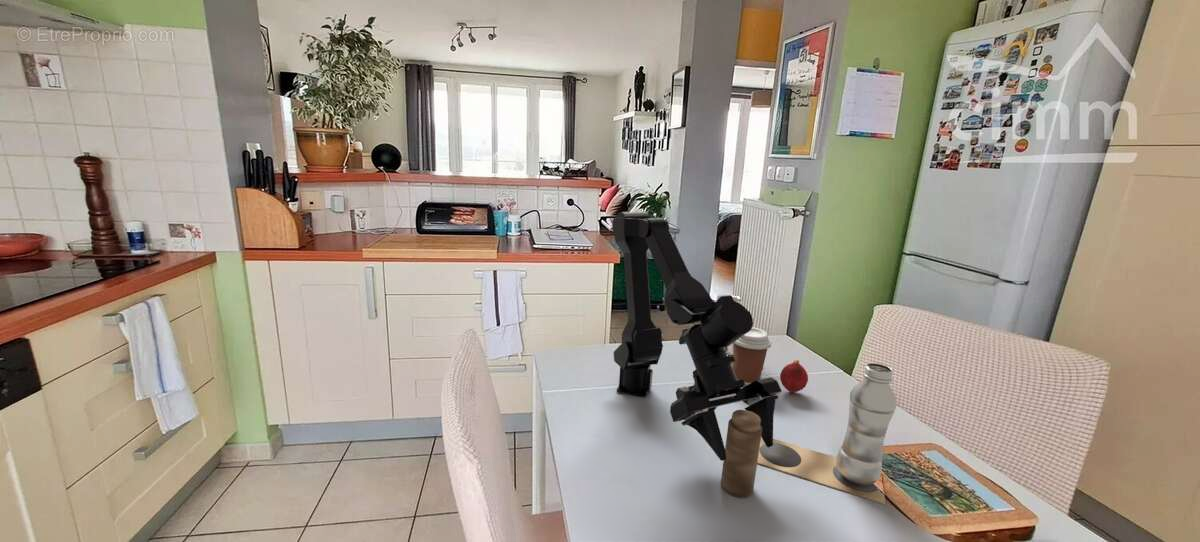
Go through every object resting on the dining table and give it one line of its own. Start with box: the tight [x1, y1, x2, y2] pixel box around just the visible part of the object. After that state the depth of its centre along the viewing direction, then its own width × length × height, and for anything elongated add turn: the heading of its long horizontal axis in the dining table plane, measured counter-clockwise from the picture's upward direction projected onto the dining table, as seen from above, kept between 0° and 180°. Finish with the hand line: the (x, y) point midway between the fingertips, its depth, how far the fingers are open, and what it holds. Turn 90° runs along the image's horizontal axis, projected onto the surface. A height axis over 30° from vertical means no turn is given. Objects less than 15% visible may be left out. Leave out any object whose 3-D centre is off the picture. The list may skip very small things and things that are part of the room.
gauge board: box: [757, 437, 886, 505], centre depth 81 cm, size 21×9×1 cm, turn 63°
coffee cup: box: [732, 327, 773, 386], centre depth 111 cm, size 9×9×12 cm
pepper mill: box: [720, 409, 762, 499], centre depth 74 cm, size 5×5×12 cm
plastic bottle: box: [835, 362, 898, 485], centre depth 76 cm, size 6×7×20 cm
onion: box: [779, 359, 809, 394], centre depth 106 cm, size 6×6×8 cm
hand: (747, 453), depth 72 cm, fingers open, 9 cm apart
